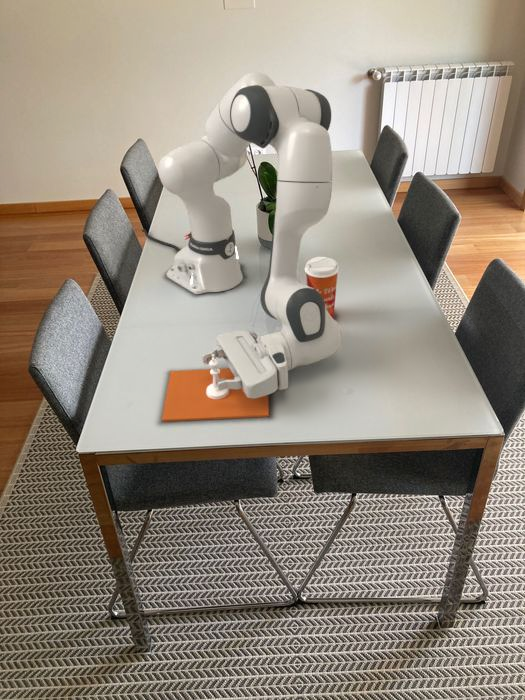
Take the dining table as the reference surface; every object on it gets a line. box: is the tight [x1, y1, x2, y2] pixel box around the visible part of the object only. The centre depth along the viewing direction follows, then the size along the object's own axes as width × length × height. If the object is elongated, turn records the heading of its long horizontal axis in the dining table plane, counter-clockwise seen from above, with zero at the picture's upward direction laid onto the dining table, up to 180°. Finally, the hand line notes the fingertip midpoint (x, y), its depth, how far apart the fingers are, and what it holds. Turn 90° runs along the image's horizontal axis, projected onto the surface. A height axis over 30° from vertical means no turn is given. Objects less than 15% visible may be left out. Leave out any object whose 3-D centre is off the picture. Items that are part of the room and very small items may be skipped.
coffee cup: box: [304, 256, 340, 319], centre depth 147 cm, size 8×8×15 cm
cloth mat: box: [161, 367, 270, 422], centre depth 129 cm, size 22×16×1 cm
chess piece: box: [206, 354, 229, 399], centre depth 126 cm, size 5×5×10 cm
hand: (210, 372), depth 126 cm, fingers open, 8 cm apart
